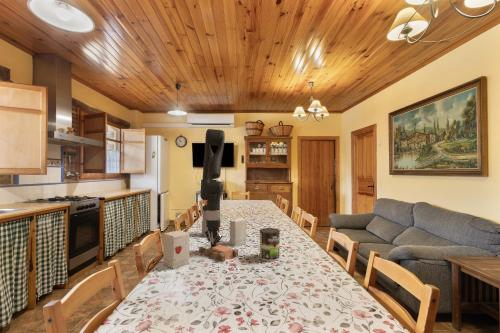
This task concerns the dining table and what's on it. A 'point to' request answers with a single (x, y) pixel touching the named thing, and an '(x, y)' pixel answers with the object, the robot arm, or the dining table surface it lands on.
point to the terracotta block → (223, 251)
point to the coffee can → (269, 244)
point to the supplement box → (176, 249)
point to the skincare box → (237, 232)
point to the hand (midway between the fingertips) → (213, 250)
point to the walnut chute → (216, 255)
